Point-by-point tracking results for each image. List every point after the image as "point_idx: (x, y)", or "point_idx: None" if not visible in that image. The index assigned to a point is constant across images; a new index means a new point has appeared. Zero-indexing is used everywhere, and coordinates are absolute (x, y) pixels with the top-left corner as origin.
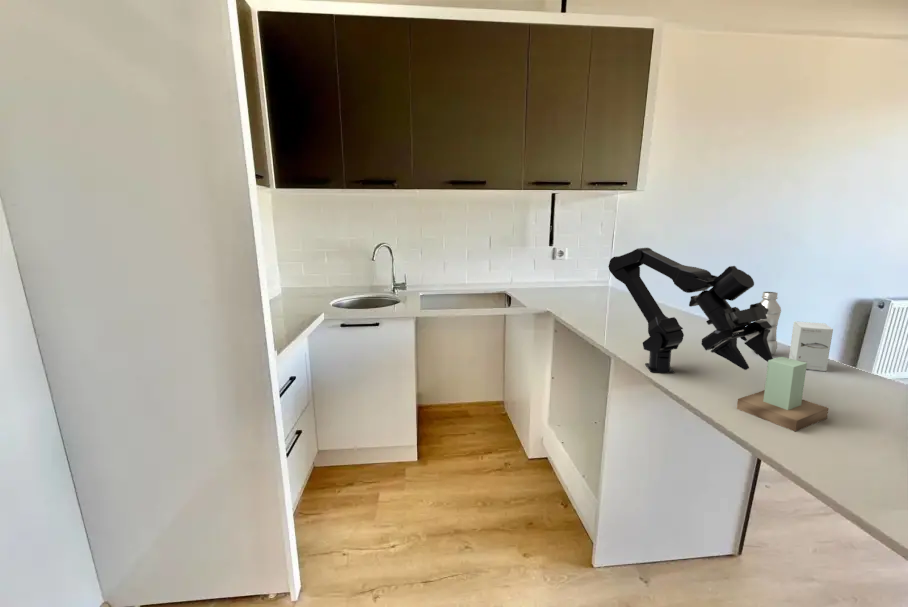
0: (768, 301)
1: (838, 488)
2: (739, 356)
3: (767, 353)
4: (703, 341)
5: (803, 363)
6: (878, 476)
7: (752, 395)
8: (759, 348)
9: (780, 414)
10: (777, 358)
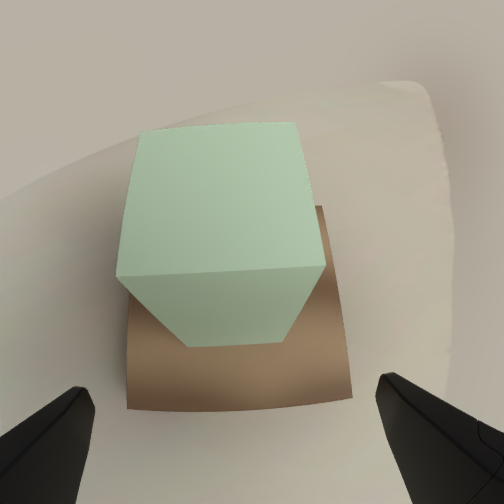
0: None
1: (413, 118)
2: (468, 417)
3: (58, 430)
4: None
5: (168, 132)
6: (330, 102)
7: (263, 400)
8: (44, 500)
9: (329, 248)
10: (200, 260)
